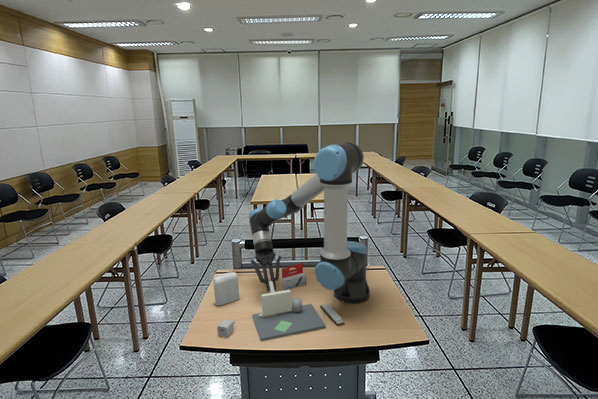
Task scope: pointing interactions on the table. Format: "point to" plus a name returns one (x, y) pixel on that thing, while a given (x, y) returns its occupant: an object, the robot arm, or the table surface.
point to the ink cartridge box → (293, 277)
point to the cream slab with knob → (279, 303)
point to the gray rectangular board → (288, 323)
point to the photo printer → (226, 288)
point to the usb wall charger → (225, 328)
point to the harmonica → (332, 314)
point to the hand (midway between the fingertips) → (273, 298)
